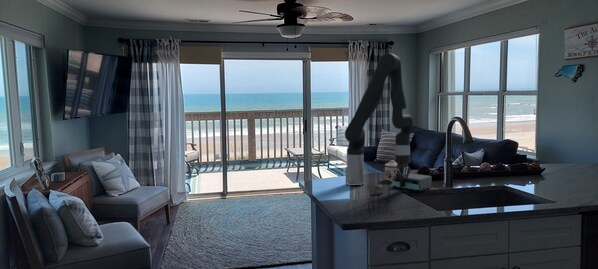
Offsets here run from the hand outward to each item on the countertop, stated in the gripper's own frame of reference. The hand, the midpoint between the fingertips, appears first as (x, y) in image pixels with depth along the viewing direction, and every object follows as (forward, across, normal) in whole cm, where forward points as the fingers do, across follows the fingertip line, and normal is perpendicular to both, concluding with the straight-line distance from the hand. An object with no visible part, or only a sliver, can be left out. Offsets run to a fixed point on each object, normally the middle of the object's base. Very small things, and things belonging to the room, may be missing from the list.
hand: (402, 186), depth 215 cm
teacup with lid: (+2, -18, -17) cm, 25 cm away
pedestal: (+2, +15, -5) cm, 15 cm away
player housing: (+2, -9, 0) cm, 10 cm away
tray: (+1, -8, 0) cm, 8 cm away
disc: (0, -7, 0) cm, 7 cm away
